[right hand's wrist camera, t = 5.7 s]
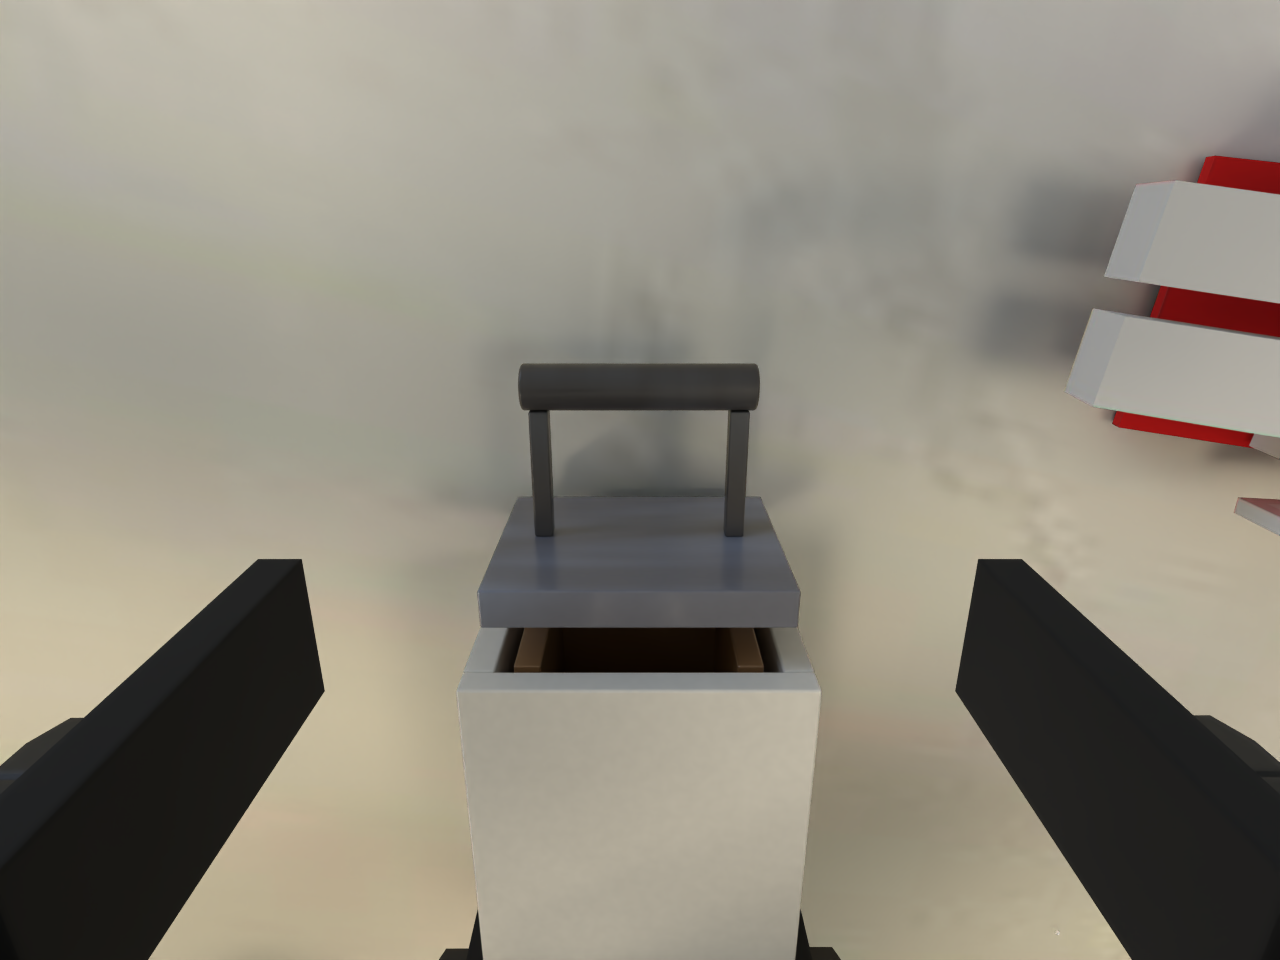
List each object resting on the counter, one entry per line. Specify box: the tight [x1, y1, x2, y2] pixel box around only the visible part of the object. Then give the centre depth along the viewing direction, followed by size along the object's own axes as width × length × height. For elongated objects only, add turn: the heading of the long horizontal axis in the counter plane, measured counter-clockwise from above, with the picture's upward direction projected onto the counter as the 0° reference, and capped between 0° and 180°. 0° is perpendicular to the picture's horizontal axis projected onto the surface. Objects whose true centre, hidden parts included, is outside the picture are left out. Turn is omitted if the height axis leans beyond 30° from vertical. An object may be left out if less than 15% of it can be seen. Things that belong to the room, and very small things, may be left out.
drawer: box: [477, 364, 801, 673], centre depth 26 cm, size 21×9×7 cm, turn 0°
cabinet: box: [456, 627, 822, 960], centre depth 28 cm, size 17×10×9 cm, turn 0°
